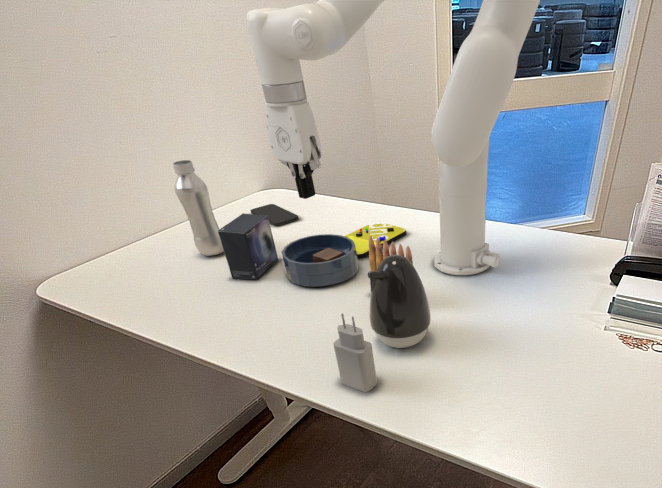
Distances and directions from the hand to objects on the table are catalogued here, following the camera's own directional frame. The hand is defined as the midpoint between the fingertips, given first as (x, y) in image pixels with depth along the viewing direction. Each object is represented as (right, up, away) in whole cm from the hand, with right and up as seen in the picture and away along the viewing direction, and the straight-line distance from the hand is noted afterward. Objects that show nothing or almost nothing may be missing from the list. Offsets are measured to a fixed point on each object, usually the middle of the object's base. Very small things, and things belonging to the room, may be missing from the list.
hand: (307, 196), depth 100 cm
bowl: (+2, -15, +4) cm, 16 cm away
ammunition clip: (+19, -23, -6) cm, 31 cm away
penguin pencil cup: (+21, -32, -17) cm, 42 cm away
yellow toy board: (+11, -4, +16) cm, 20 cm away
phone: (-17, +8, +31) cm, 36 cm away
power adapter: (+15, -40, -26) cm, 50 cm away
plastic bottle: (-26, -8, +14) cm, 30 cm away
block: (+5, -16, +2) cm, 17 cm away
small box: (-13, -14, +6) cm, 20 cm away
